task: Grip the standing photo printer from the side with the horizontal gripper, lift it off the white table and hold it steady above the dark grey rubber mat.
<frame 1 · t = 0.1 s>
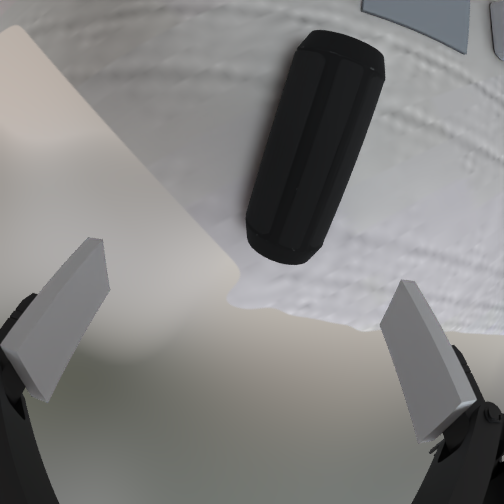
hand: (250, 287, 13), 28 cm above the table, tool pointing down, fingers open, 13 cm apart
portable speaker: (306, 140, 36), on the table
photo printer: (498, 31, 23), on the table
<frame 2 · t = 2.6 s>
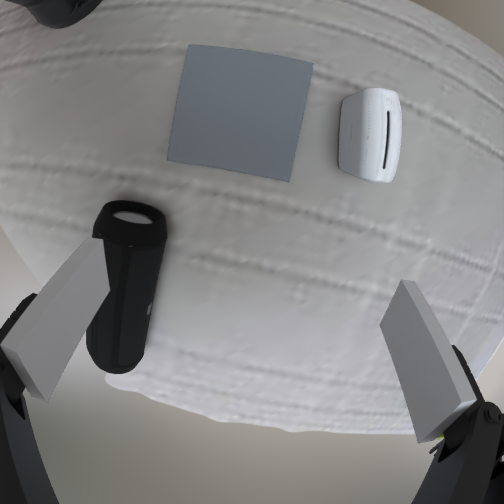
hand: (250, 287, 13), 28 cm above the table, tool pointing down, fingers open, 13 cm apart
portable speaker: (133, 279, 45), on the table
rubber mat: (238, 109, 36), on the table
photo printer: (352, 135, 36), on the table
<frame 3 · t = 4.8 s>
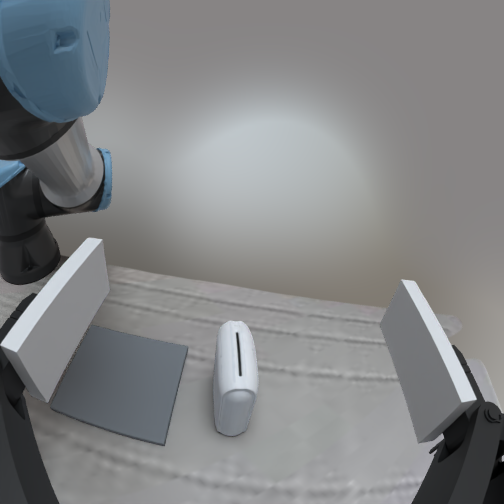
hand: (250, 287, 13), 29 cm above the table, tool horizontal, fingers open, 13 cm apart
rubber mat: (121, 380, 36), on the table
photo printer: (228, 403, 37), on the table
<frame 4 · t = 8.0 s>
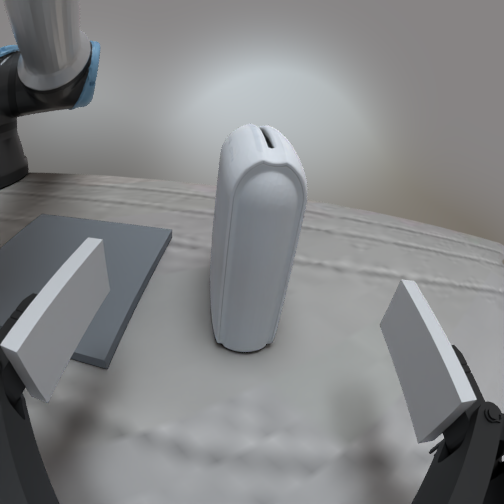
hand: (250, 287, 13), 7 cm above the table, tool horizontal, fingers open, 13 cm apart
rubber mat: (60, 270, 22), on the table
photo printer: (237, 303, 22), on the table
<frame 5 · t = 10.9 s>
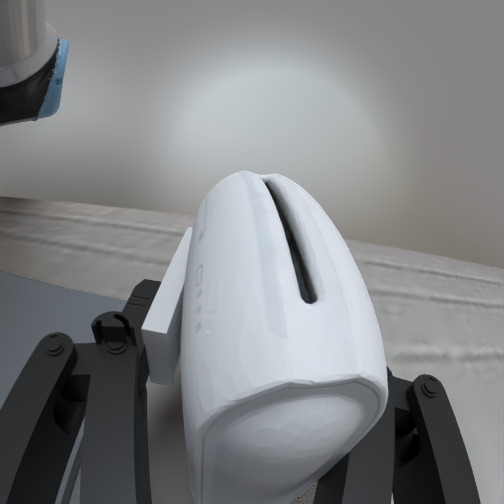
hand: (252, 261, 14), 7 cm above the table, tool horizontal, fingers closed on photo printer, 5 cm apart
photo printer: (229, 434, 13), on the table, touching gripper
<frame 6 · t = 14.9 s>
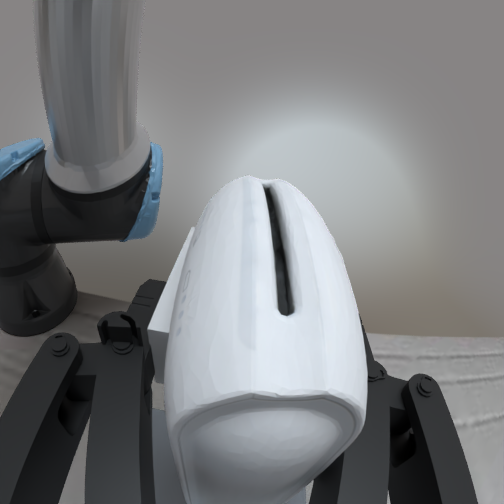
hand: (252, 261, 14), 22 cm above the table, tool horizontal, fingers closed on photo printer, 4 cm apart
rubber mat: (217, 492, 21), on the table
photo printer: (230, 435, 14), point 15 cm above the table, touching gripper
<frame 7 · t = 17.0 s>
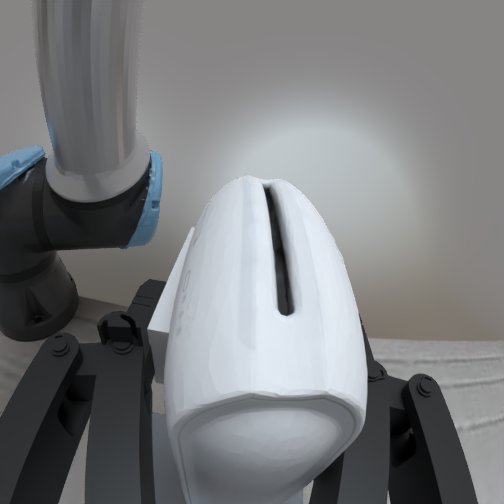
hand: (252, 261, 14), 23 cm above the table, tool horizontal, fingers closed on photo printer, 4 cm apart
rubber mat: (217, 494, 21), on the table
photo printer: (230, 435, 14), point 16 cm above the table, touching gripper
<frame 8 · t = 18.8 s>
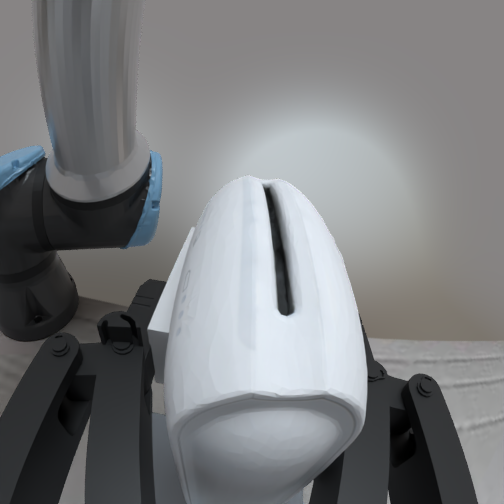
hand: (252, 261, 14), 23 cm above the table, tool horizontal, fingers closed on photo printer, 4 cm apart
rubber mat: (217, 494, 21), on the table
photo printer: (230, 435, 14), point 16 cm above the table, touching gripper
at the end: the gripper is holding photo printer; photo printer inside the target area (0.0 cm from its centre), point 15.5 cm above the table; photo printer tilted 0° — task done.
